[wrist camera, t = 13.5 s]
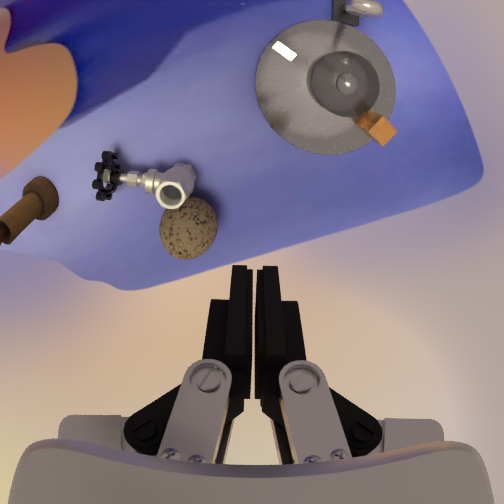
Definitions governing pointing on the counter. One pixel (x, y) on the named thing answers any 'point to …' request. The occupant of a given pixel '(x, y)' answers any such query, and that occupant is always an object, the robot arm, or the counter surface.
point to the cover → (343, 83)
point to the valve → (146, 181)
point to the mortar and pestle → (28, 208)
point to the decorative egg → (188, 228)
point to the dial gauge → (355, 10)
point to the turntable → (300, 101)
